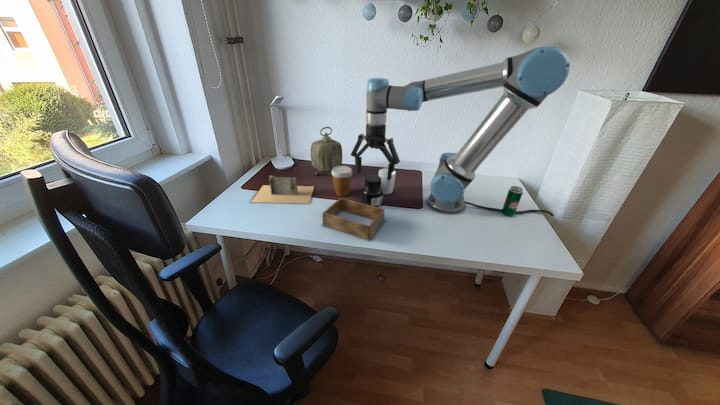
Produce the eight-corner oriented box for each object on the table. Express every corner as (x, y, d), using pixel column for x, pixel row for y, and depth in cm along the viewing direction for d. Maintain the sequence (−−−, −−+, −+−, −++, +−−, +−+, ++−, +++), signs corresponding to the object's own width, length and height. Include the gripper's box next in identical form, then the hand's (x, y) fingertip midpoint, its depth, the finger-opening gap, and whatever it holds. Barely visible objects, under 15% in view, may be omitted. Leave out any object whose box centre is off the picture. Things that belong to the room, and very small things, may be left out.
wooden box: (383, 221, 107) (384, 209, 104) (369, 240, 97) (370, 227, 94) (340, 208, 115) (340, 197, 112) (323, 225, 104) (322, 213, 101)
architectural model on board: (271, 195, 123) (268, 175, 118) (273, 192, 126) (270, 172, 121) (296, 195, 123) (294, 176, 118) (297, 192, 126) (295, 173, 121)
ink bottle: (376, 210, 114) (377, 185, 108) (357, 205, 117) (358, 180, 111) (385, 201, 121) (387, 176, 115) (368, 196, 125) (369, 172, 119)
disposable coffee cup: (343, 200, 121) (343, 175, 115) (327, 194, 125) (326, 170, 119) (356, 192, 127) (356, 169, 121) (341, 186, 132) (340, 163, 126)
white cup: (396, 193, 128) (398, 174, 122) (381, 196, 125) (383, 176, 120) (389, 186, 134) (390, 167, 129) (374, 188, 131) (375, 169, 126)
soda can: (507, 217, 112) (516, 191, 106) (498, 211, 116) (507, 186, 110) (517, 216, 113) (526, 190, 107) (508, 209, 117) (517, 184, 111)
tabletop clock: (334, 168, 151) (333, 123, 139) (344, 173, 145) (343, 127, 133) (312, 174, 143) (308, 127, 131) (321, 180, 137) (318, 131, 125)
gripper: (411, 125, 100) (405, 178, 110) (351, 118, 109) (351, 167, 120) (404, 130, 94) (399, 185, 104) (342, 122, 103) (343, 173, 114)
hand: (373, 175), depth 112 cm, fingers open, 13 cm apart
